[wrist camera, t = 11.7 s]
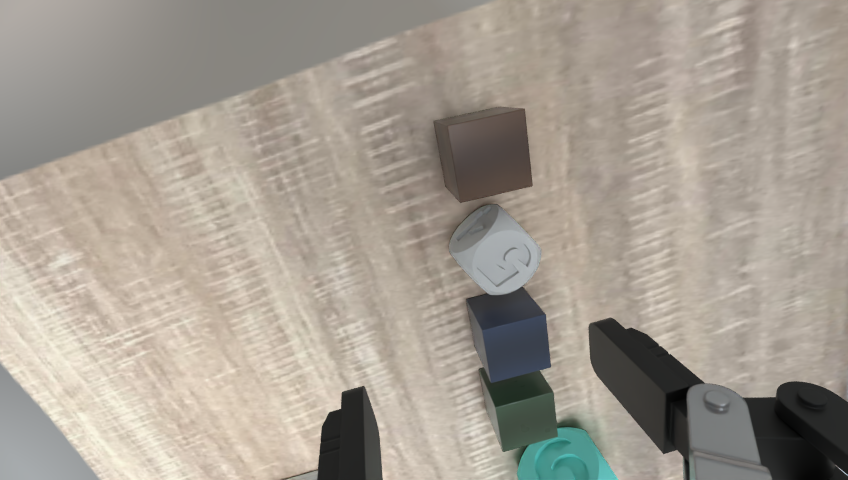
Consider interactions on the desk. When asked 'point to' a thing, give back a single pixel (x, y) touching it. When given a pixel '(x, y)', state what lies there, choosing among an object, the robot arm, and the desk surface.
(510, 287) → the die
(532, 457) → the decorative dice
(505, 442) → the row of mixed cubes
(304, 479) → the small box
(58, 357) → the desk surface
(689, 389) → the robot arm
